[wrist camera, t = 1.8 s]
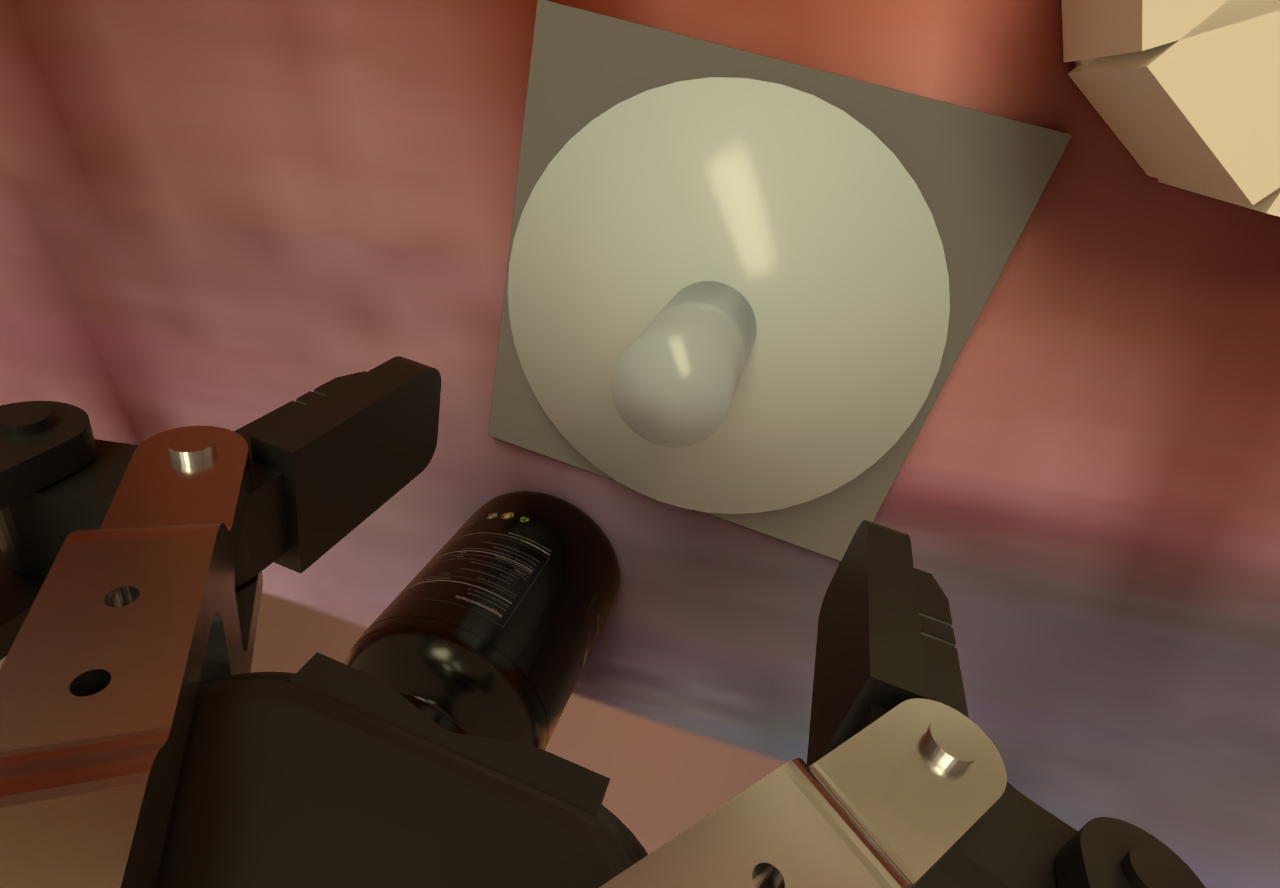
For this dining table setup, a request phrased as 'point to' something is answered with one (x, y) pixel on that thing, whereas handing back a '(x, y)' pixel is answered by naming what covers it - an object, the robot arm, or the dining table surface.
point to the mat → (906, 123)
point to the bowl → (1186, 89)
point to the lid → (728, 295)
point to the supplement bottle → (498, 620)
